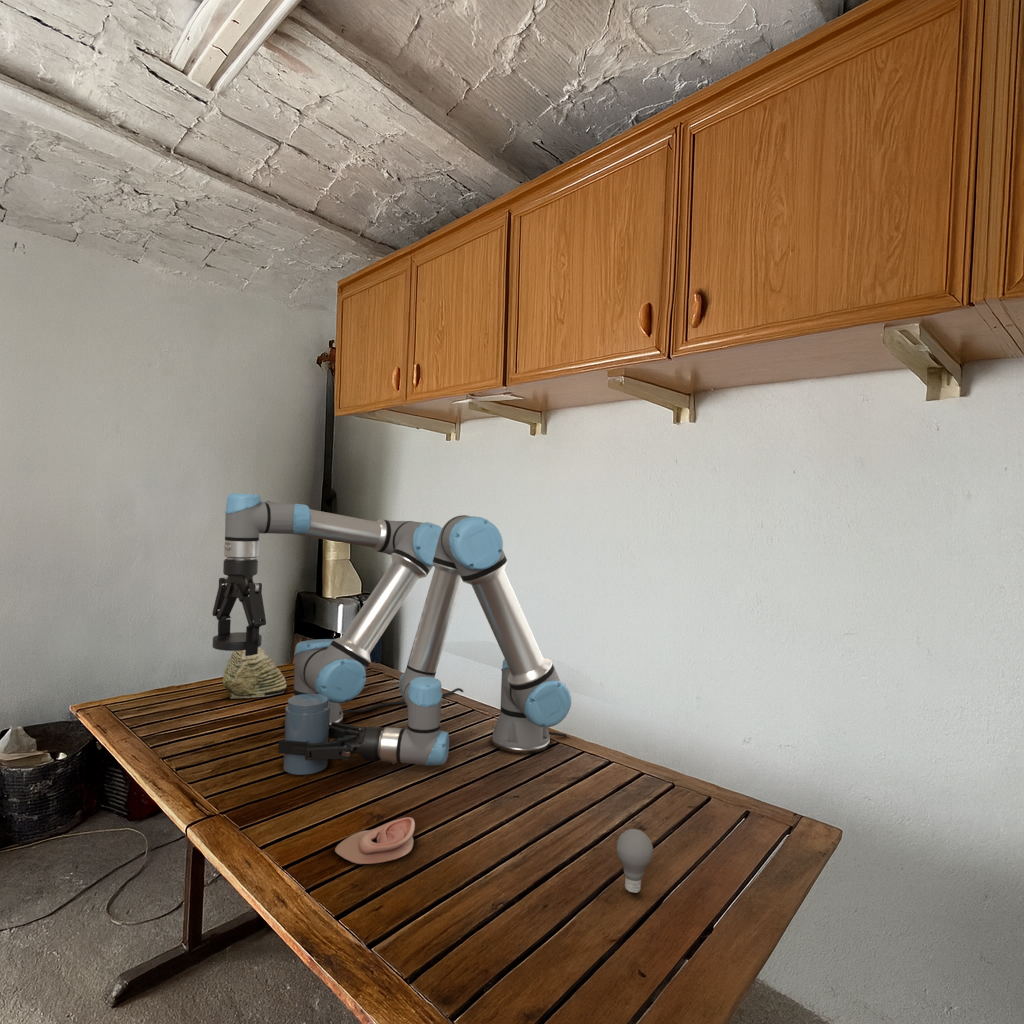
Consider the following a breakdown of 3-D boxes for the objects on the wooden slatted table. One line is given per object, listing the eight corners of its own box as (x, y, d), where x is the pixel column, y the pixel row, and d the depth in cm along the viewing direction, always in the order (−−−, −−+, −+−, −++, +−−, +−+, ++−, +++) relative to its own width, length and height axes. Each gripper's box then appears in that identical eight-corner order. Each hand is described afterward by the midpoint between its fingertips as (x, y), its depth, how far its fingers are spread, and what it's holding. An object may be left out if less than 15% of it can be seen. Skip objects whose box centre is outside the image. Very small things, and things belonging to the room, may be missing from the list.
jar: (320, 775, 144) (322, 707, 143) (276, 773, 144) (279, 705, 143) (333, 758, 154) (335, 693, 153) (292, 756, 154) (294, 691, 153)
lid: (217, 640, 154) (217, 632, 154) (264, 640, 157) (264, 632, 157) (208, 651, 144) (208, 642, 144) (258, 650, 147) (258, 641, 147)
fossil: (218, 695, 195) (220, 647, 195) (278, 685, 208) (279, 640, 207) (228, 703, 189) (230, 653, 188) (289, 692, 201) (290, 645, 201)
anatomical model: (327, 836, 111) (356, 806, 122) (326, 858, 111) (355, 826, 122) (398, 848, 108) (421, 815, 119) (397, 871, 108) (420, 836, 119)
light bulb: (610, 879, 108) (613, 822, 108) (644, 879, 109) (647, 822, 109) (619, 902, 102) (622, 840, 102) (655, 901, 103) (658, 840, 103)
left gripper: (198, 554, 154) (195, 645, 154) (256, 563, 141) (252, 662, 141) (227, 553, 160) (224, 640, 160) (285, 562, 147) (281, 656, 147)
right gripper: (366, 781, 136) (266, 774, 138) (393, 742, 159) (307, 735, 160) (368, 747, 136) (267, 739, 137) (394, 712, 159) (308, 706, 160)
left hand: (237, 650), depth 151 cm, fingers closed on lid, 11 cm apart
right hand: (289, 737), depth 149 cm, fingers closed on jar, 10 cm apart
